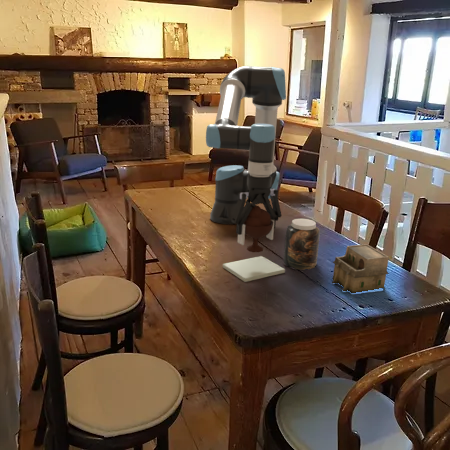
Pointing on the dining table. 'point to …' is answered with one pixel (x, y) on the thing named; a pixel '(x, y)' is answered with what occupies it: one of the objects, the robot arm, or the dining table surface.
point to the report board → (253, 268)
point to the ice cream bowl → (257, 227)
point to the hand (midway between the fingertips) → (255, 240)
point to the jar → (301, 244)
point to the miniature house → (361, 269)
